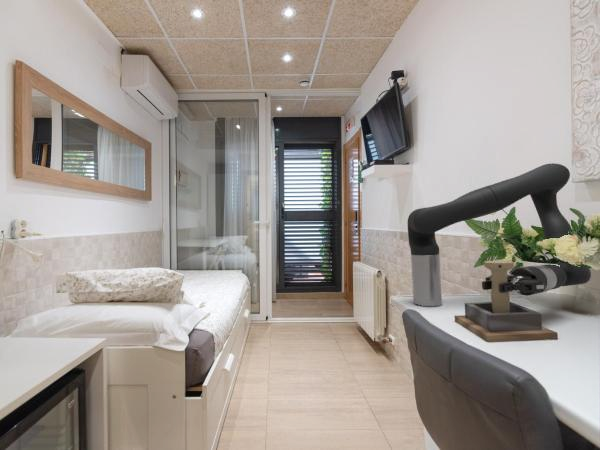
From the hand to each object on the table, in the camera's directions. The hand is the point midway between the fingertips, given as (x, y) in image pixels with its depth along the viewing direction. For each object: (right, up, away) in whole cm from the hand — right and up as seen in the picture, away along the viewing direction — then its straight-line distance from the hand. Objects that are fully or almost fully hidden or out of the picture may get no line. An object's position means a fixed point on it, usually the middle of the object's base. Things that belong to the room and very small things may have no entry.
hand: (492, 287), depth 79 cm
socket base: (+3, -11, +1) cm, 12 cm away
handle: (+3, -9, +1) cm, 10 cm away
